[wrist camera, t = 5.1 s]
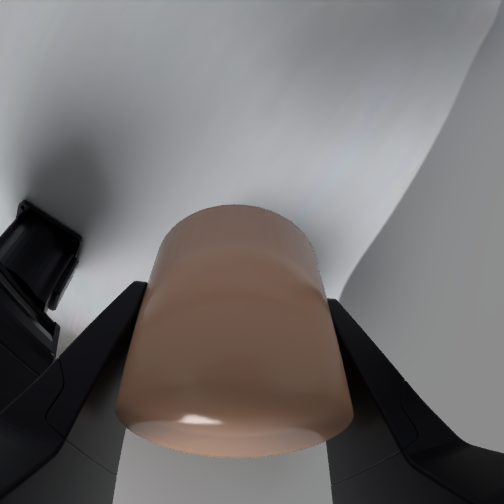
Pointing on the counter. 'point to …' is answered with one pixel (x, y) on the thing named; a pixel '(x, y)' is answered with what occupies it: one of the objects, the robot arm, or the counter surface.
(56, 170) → the counter surface
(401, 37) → the counter surface
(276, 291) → the terracotta cylinder
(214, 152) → the counter surface
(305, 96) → the counter surface
